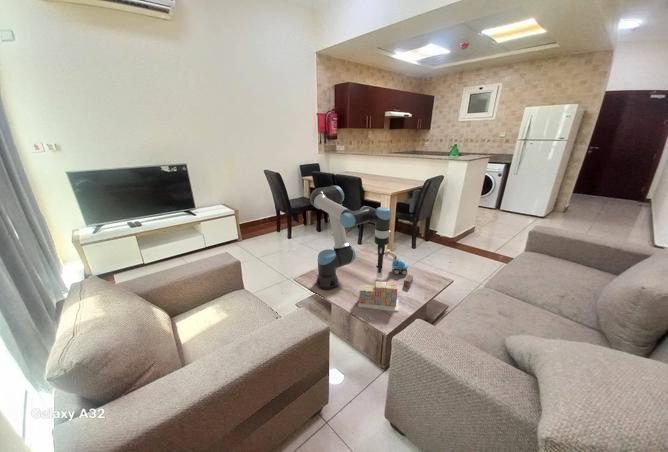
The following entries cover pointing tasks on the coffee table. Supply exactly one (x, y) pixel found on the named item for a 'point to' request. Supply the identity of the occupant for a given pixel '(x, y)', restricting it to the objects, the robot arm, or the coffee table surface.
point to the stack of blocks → (379, 294)
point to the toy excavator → (397, 263)
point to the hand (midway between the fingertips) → (380, 270)
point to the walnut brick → (408, 281)
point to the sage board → (380, 306)
